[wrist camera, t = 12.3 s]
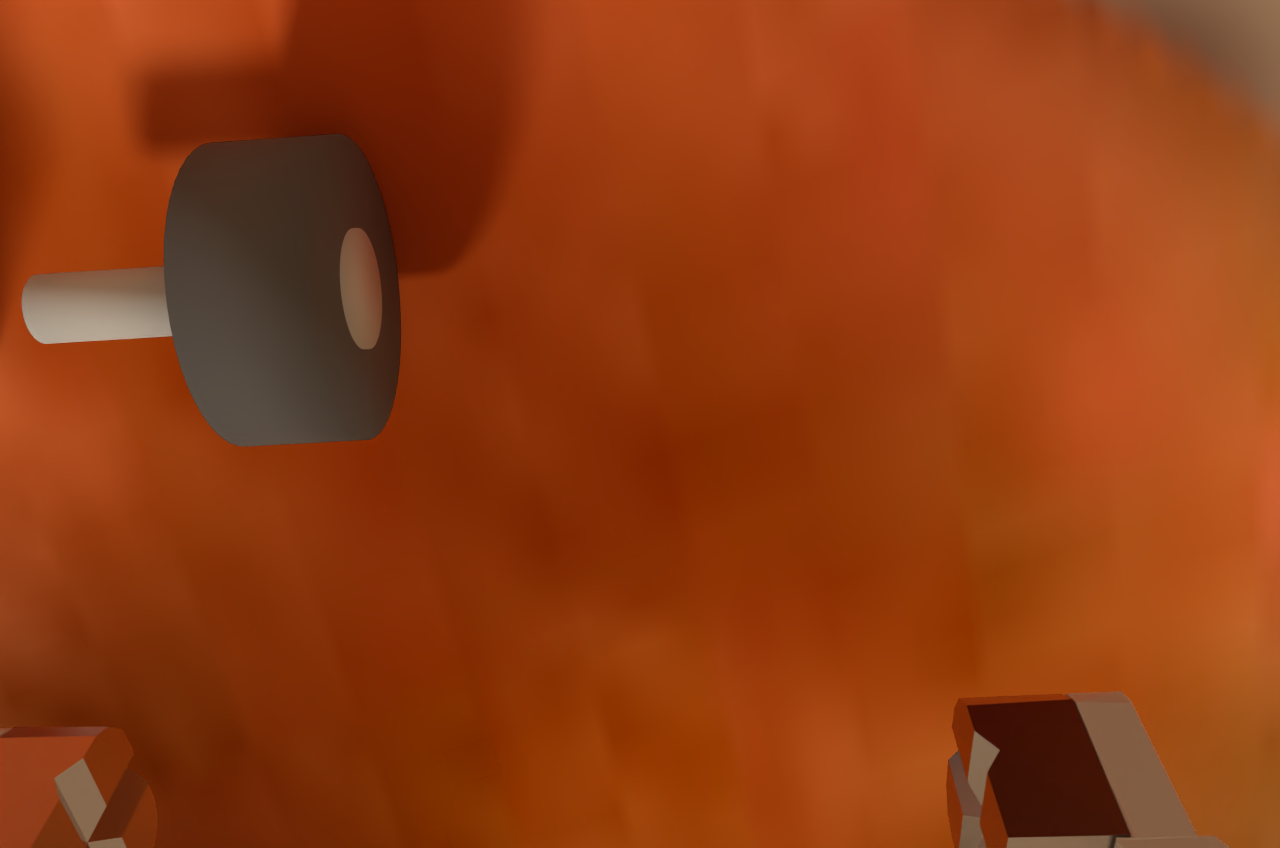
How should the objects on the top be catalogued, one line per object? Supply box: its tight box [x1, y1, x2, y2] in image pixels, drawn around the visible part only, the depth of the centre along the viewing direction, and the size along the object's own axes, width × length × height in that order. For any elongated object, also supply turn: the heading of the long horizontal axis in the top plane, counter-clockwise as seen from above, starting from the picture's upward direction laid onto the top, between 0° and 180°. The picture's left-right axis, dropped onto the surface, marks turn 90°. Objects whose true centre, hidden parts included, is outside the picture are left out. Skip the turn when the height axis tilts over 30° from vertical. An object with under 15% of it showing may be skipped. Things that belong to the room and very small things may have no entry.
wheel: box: [22, 134, 401, 446], centre depth 22 cm, size 6×7×6 cm
